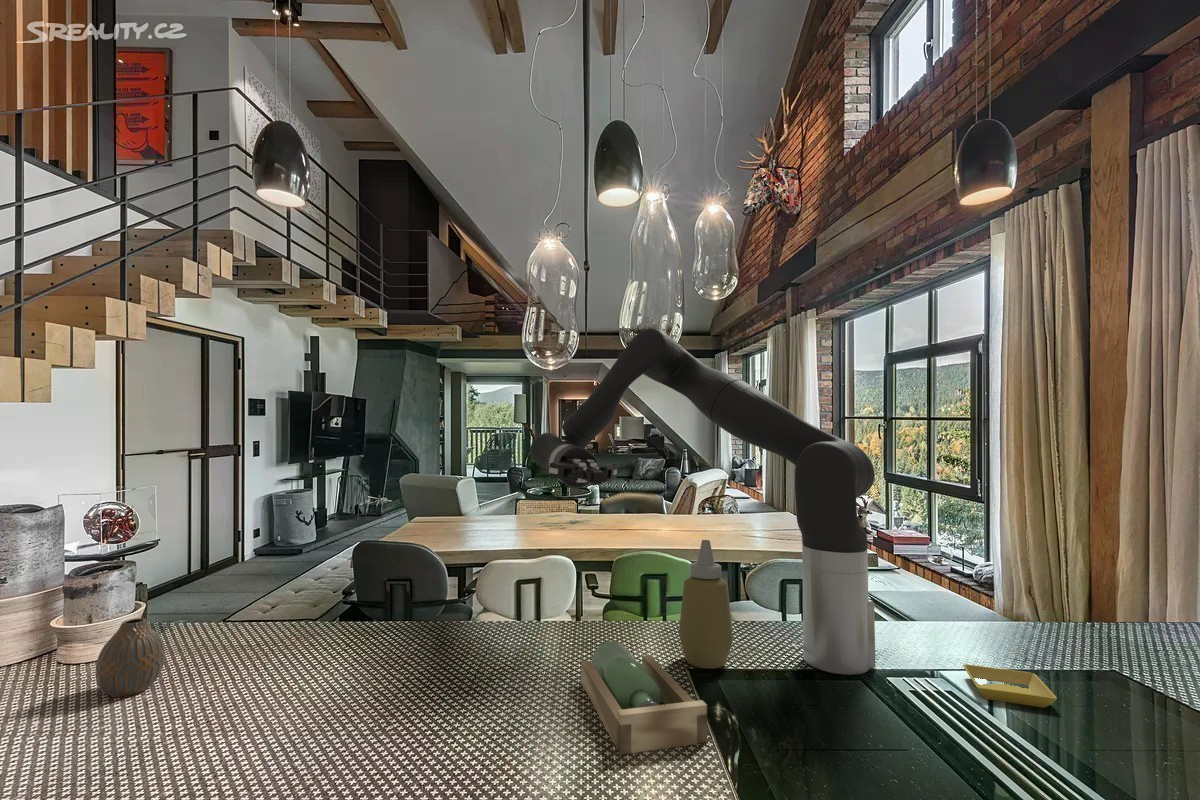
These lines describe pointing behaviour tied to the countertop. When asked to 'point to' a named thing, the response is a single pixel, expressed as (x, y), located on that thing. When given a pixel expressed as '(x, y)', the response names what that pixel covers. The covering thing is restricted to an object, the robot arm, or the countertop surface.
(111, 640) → the vase
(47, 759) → the countertop surface
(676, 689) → the u rest
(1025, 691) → the yellow shallow square tray
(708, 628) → the squeeze bottle
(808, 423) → the robot arm
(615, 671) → the bottle
